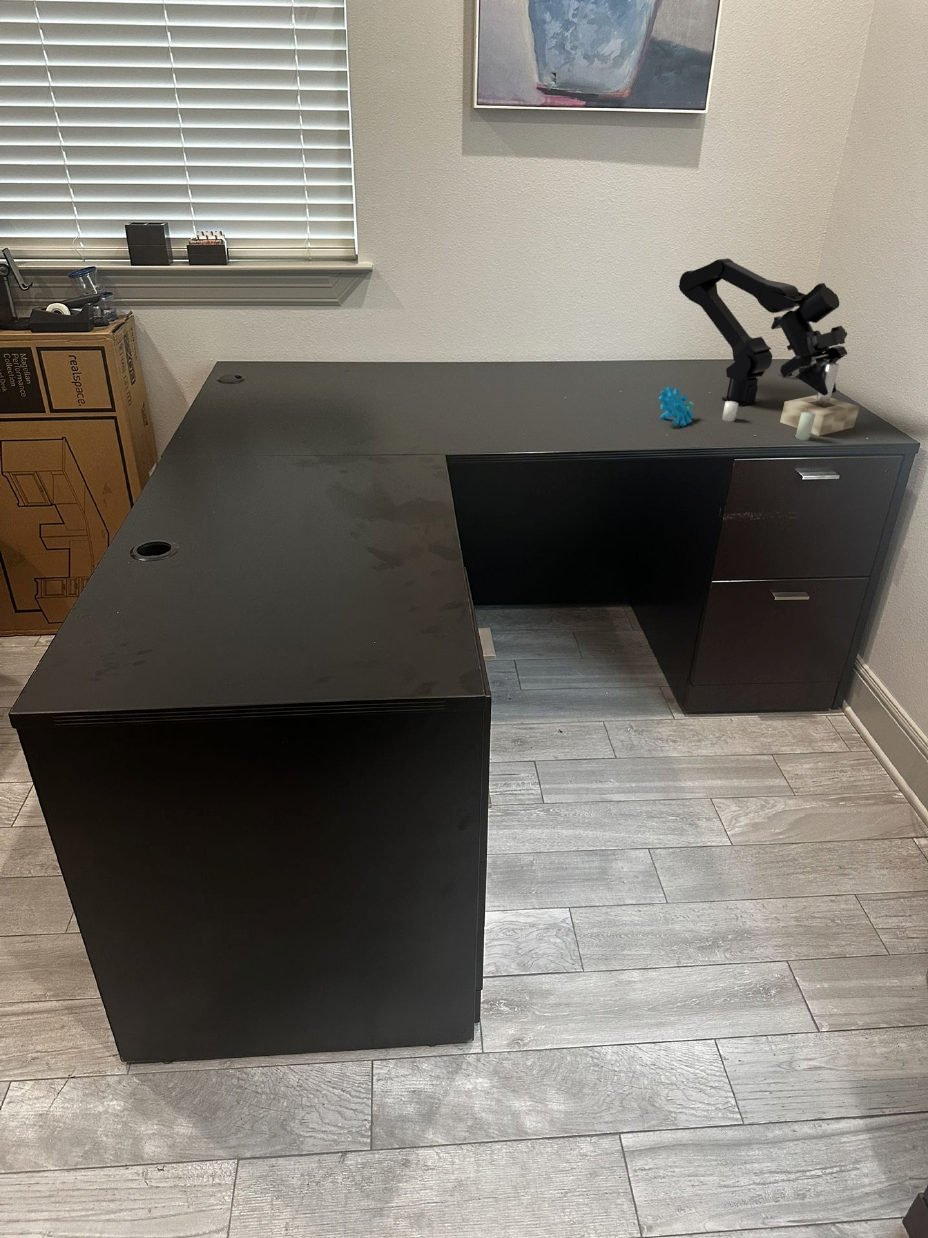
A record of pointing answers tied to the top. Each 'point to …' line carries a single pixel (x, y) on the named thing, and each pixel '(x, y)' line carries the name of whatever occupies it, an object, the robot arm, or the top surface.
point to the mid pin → (805, 426)
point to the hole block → (820, 414)
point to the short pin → (730, 411)
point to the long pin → (827, 384)
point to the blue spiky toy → (675, 406)
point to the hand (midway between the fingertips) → (830, 393)
